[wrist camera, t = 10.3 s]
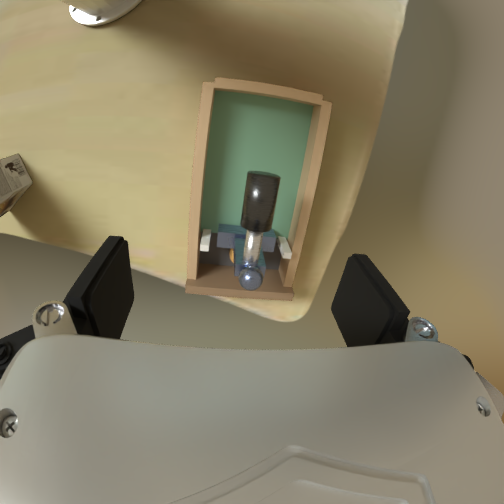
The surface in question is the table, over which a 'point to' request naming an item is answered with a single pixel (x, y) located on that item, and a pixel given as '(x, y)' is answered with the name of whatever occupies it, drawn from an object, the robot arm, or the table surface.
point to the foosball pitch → (235, 174)
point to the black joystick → (253, 229)
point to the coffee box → (12, 182)
